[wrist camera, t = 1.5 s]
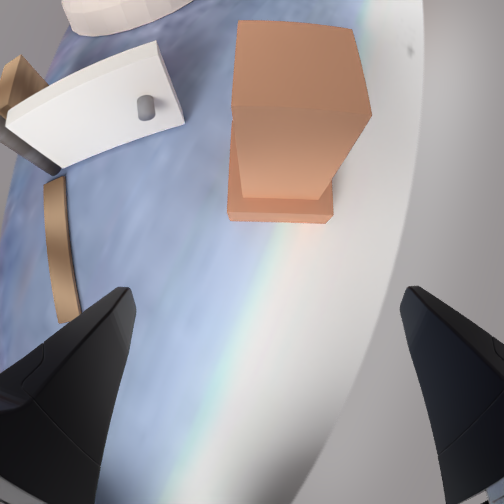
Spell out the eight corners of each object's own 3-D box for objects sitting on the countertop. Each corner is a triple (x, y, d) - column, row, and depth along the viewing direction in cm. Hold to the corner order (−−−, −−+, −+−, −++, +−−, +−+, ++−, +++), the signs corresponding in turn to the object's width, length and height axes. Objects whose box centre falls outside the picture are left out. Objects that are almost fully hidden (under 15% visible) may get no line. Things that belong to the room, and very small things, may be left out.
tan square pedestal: (325, 223, 22) (400, 142, 9) (229, 221, 22) (199, 130, 10) (321, 140, 23) (368, 20, 10) (234, 136, 23) (217, 9, 10)
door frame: (49, 111, 24) (-3, 60, 14) (67, 102, 24) (17, 46, 14) (61, 323, 21) (-25, 331, 11) (82, 318, 21) (-4, 326, 12)
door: (63, 182, 23) (2, 143, 14) (62, 154, 23) (8, 110, 15) (188, 138, 23) (159, 70, 14) (182, 110, 23) (156, 40, 15)
